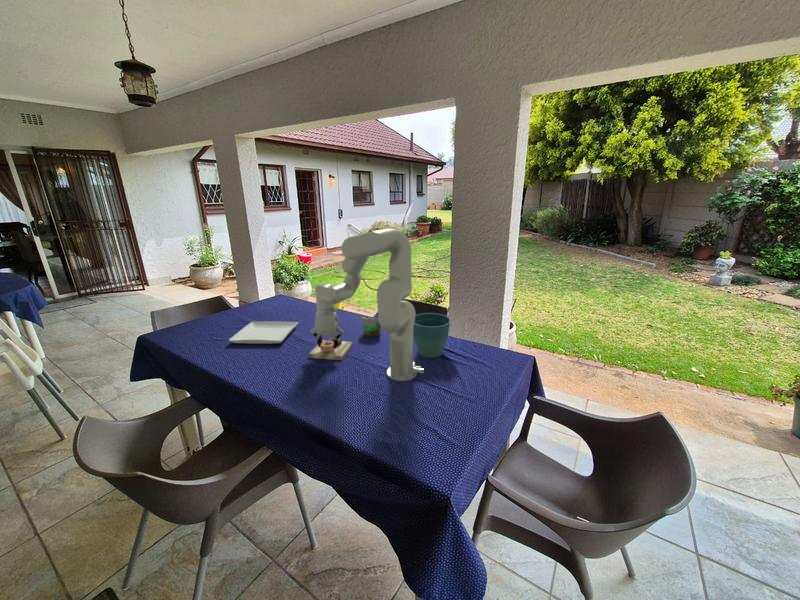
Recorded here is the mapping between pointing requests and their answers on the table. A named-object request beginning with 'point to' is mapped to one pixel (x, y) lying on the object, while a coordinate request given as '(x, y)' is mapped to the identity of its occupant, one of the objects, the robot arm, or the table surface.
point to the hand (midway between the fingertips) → (328, 346)
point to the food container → (370, 326)
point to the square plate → (264, 332)
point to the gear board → (334, 354)
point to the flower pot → (431, 333)
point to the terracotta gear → (327, 346)
